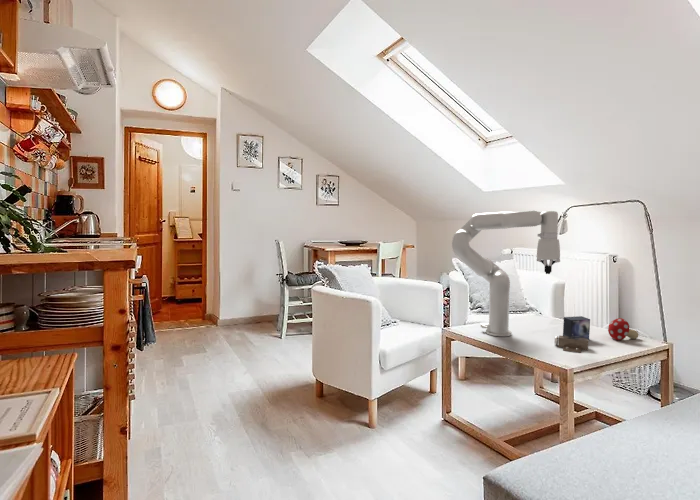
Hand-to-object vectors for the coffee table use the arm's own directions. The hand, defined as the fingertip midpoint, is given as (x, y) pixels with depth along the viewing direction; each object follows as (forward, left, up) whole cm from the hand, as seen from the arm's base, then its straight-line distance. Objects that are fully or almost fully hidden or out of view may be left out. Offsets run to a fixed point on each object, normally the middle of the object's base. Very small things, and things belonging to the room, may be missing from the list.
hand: (547, 273), depth 223 cm
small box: (+13, +4, -32) cm, 35 cm away
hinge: (+13, -13, -32) cm, 37 cm away
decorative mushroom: (+34, +14, -32) cm, 49 cm away
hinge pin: (+13, -13, -32) cm, 37 cm away
